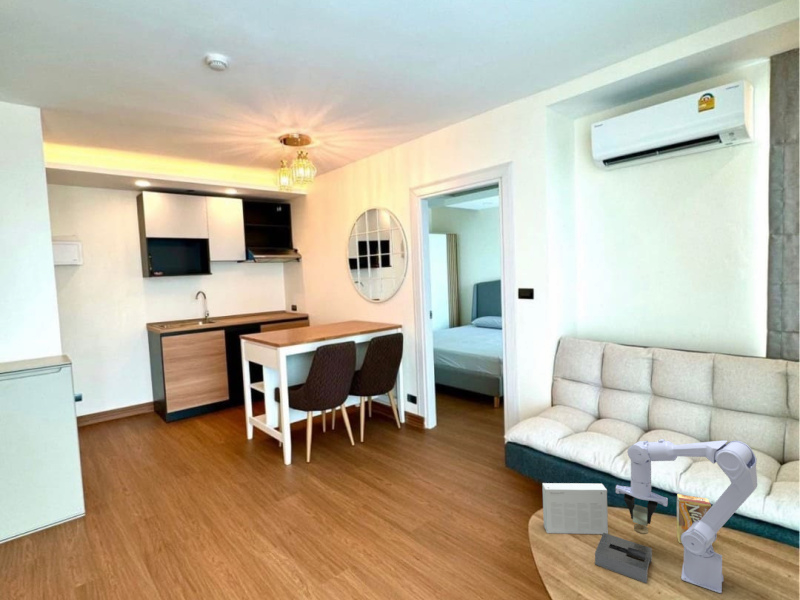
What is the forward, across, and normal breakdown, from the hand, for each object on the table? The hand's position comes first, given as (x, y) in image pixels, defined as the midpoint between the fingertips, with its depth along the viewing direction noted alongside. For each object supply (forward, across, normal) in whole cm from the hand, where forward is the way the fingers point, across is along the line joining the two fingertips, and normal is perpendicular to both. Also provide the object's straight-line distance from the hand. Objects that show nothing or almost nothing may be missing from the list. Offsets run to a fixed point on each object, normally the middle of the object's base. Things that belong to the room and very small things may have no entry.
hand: (640, 519), depth 136 cm
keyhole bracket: (+10, +3, +9) cm, 14 cm away
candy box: (+11, -13, -14) cm, 22 cm away
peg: (+4, 0, 0) cm, 4 cm away
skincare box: (+11, +21, +1) cm, 23 cm away
